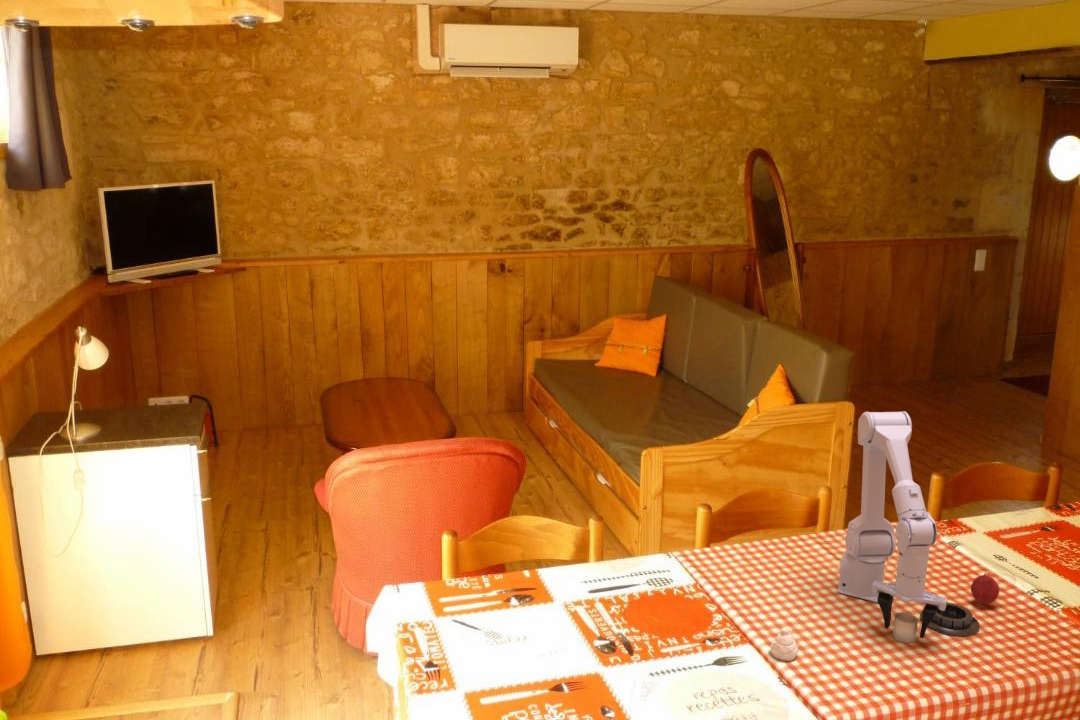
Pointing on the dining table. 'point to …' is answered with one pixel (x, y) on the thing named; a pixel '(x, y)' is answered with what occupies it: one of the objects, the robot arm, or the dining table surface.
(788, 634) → the swirled meringue
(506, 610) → the dining table surface
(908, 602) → the robot arm
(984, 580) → the onion
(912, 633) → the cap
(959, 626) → the ridged round lid
